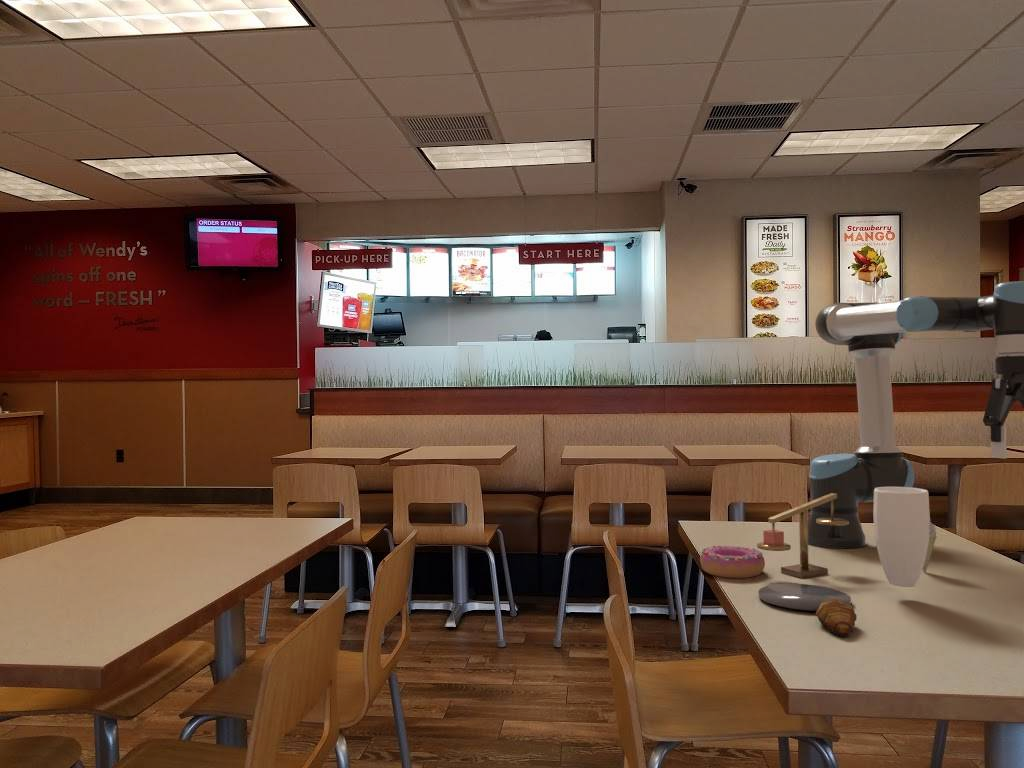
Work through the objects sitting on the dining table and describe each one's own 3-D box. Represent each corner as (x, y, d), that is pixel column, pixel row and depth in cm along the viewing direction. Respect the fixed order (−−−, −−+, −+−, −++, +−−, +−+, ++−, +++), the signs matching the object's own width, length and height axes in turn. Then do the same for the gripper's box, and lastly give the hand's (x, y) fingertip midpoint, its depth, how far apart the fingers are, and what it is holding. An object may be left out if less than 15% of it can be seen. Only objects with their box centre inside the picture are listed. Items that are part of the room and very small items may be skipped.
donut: (775, 571, 174) (775, 549, 174) (747, 583, 164) (746, 560, 164) (718, 562, 184) (717, 541, 184) (687, 573, 174) (687, 551, 174)
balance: (774, 583, 163) (772, 502, 163) (750, 576, 169) (749, 498, 169) (856, 570, 174) (855, 494, 174) (831, 563, 180) (830, 490, 180)
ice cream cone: (936, 570, 172) (935, 504, 172) (938, 575, 168) (937, 507, 168) (911, 568, 174) (910, 503, 174) (912, 573, 170) (911, 506, 170)
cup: (909, 609, 143) (908, 495, 143) (861, 596, 152) (860, 488, 152) (944, 601, 148) (942, 490, 148) (895, 589, 157) (894, 484, 157)
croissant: (866, 640, 127) (866, 610, 127) (823, 638, 128) (823, 609, 128) (847, 616, 140) (847, 589, 140) (808, 614, 141) (808, 587, 141)
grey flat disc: (740, 596, 154) (740, 590, 154) (802, 585, 161) (802, 579, 161) (805, 618, 138) (805, 612, 138) (871, 606, 146) (870, 599, 146)
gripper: (1000, 354, 151) (1001, 460, 151) (1068, 355, 163) (1069, 454, 163) (962, 355, 158) (964, 457, 158) (1030, 356, 170) (1032, 451, 170)
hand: (1017, 456), depth 160 cm, fingers open, 13 cm apart
